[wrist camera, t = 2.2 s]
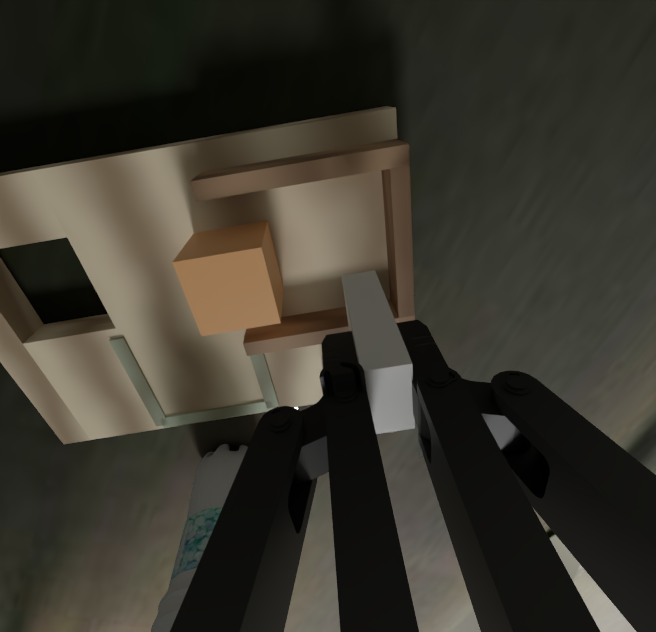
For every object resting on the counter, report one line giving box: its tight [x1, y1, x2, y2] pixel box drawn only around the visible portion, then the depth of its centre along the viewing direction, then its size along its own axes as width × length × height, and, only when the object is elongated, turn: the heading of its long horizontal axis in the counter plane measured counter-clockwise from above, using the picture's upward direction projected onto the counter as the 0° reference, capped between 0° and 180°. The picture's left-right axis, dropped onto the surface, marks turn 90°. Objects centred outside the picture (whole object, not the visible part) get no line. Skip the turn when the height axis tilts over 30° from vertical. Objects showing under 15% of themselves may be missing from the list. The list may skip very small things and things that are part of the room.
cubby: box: [190, 139, 415, 356], centre depth 22 cm, size 11×11×2 cm
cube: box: [172, 221, 283, 336], centre depth 22 cm, size 4×4×4 cm
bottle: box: [151, 444, 248, 632], centre depth 28 cm, size 7×7×20 cm
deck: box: [0, 106, 397, 444], centre depth 26 cm, size 28×20×3 cm
